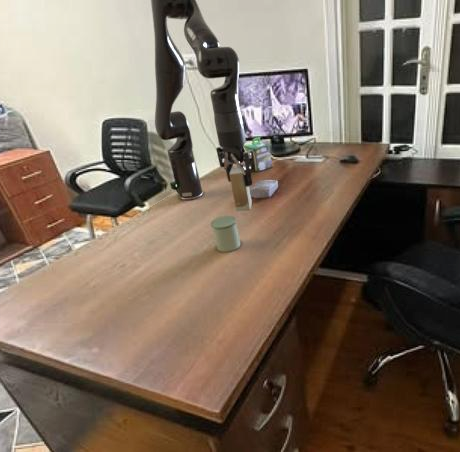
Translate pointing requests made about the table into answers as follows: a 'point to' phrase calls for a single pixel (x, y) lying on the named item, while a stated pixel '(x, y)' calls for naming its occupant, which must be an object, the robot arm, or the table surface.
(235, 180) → the cosmetic box
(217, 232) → the canister
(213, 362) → the table surface
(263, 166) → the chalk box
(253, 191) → the stone block
